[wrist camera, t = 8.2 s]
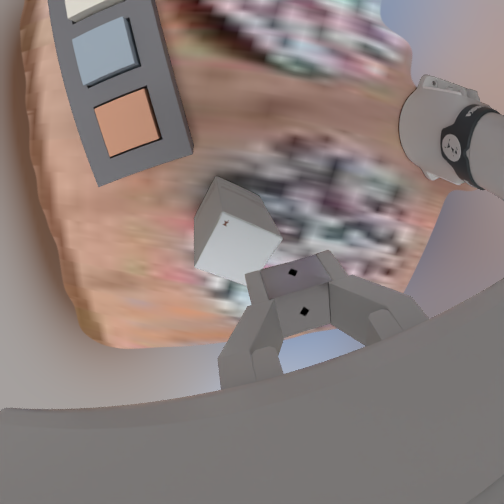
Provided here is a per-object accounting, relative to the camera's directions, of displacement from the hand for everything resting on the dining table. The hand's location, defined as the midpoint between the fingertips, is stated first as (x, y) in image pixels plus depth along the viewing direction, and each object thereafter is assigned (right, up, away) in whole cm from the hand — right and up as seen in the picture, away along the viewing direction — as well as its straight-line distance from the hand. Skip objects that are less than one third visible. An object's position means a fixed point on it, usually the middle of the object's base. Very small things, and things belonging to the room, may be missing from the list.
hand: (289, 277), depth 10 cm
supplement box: (-5, +7, +32) cm, 33 cm away
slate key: (-17, +24, +15) cm, 33 cm away
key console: (-18, +26, +18) cm, 36 cm away
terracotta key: (-16, +17, +21) cm, 31 cm away
